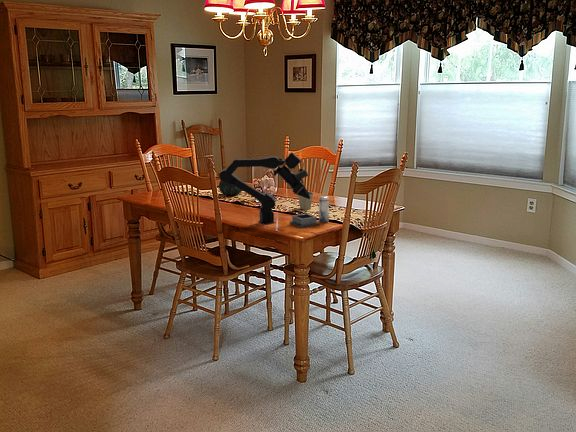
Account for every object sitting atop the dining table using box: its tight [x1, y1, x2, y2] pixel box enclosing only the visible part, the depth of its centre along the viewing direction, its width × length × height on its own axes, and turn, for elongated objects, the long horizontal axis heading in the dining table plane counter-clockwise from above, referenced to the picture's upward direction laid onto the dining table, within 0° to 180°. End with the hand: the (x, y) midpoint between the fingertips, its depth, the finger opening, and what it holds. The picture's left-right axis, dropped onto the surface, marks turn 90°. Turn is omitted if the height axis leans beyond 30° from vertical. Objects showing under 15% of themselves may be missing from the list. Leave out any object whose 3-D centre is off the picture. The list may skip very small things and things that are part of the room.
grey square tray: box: [289, 213, 320, 229], centre depth 296 cm, size 11×11×4 cm
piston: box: [318, 195, 330, 224], centre depth 299 cm, size 5×5×13 cm
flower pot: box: [297, 191, 315, 210], centre depth 331 cm, size 9×9×9 cm
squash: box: [218, 179, 243, 196], centre depth 371 cm, size 14×15×15 cm
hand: (309, 196), depth 298 cm, fingers open, 9 cm apart
